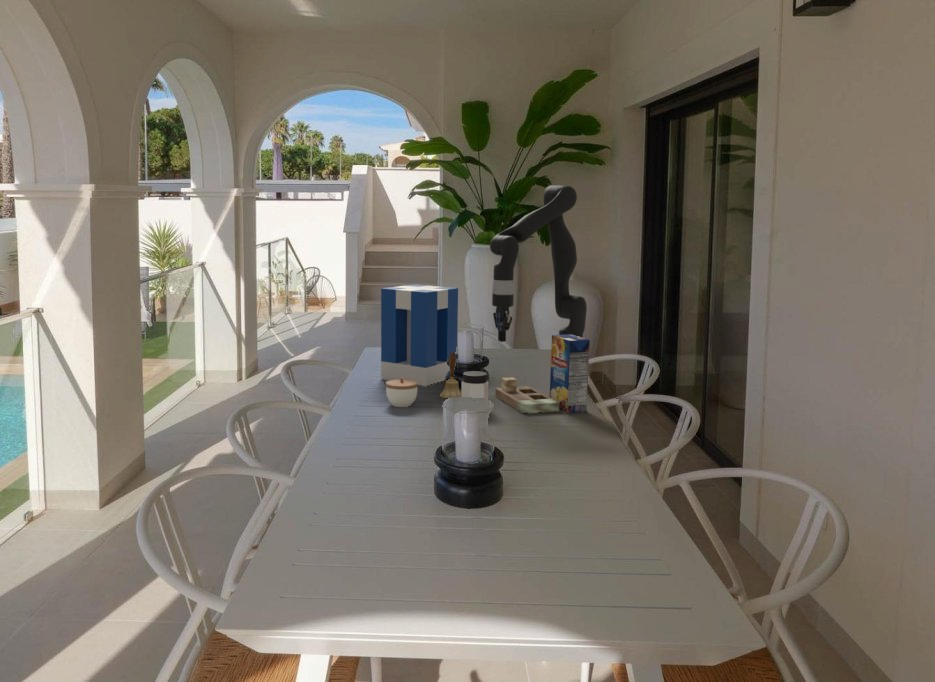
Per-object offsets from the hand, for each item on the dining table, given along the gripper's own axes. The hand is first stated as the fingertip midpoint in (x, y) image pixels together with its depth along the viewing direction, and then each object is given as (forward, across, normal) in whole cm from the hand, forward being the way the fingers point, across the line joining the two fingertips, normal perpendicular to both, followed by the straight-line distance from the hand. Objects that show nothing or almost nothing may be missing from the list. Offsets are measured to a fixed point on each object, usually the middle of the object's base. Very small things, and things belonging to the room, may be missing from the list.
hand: (501, 341), depth 282 cm
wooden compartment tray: (+19, -16, -3) cm, 25 cm away
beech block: (+16, -8, 0) cm, 18 cm away
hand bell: (+19, 0, +18) cm, 27 cm away
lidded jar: (+19, -8, +38) cm, 44 cm away
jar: (+19, -19, +16) cm, 32 cm away
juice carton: (+19, -26, -14) cm, 35 cm away
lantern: (+19, +32, +22) cm, 43 cm away
